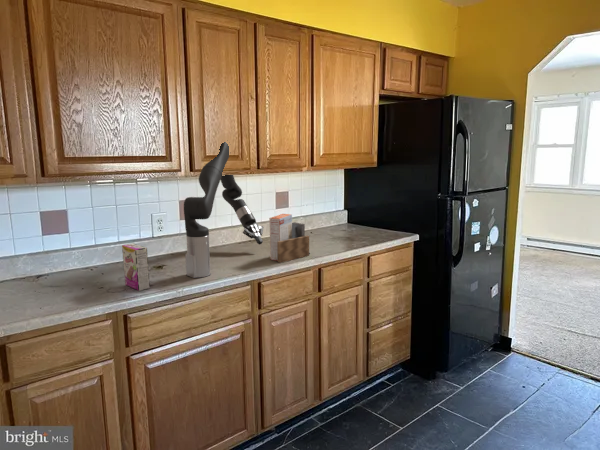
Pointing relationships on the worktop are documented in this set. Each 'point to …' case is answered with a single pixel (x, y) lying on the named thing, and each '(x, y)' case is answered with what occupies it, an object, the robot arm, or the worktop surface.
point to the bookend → (298, 230)
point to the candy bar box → (136, 266)
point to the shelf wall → (293, 248)
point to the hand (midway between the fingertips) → (261, 243)
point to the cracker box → (279, 232)
